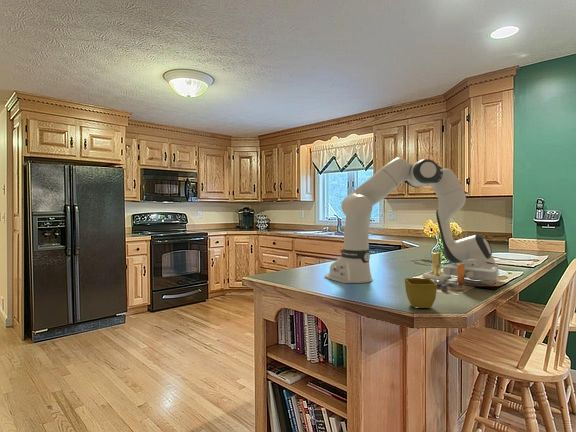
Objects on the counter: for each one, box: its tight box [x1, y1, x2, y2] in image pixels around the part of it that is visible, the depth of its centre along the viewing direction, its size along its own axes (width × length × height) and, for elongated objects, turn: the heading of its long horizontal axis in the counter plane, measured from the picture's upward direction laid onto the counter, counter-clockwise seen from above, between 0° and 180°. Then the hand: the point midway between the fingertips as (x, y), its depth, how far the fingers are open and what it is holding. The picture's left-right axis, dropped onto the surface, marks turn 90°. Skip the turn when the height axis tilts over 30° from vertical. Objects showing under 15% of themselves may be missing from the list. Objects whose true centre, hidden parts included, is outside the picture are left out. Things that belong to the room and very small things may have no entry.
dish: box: [422, 270, 452, 281], centre depth 163 cm, size 9×9×2 cm
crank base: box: [431, 279, 476, 296], centre depth 145 cm, size 18×17×3 cm
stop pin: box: [431, 252, 442, 276], centre depth 163 cm, size 4×4×11 cm
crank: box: [433, 263, 465, 288], centre depth 143 cm, size 12×5×9 cm, turn 49°
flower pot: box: [404, 277, 437, 309], centre depth 122 cm, size 9×9×9 cm
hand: (463, 275), depth 140 cm, fingers closed, pressing on crank
